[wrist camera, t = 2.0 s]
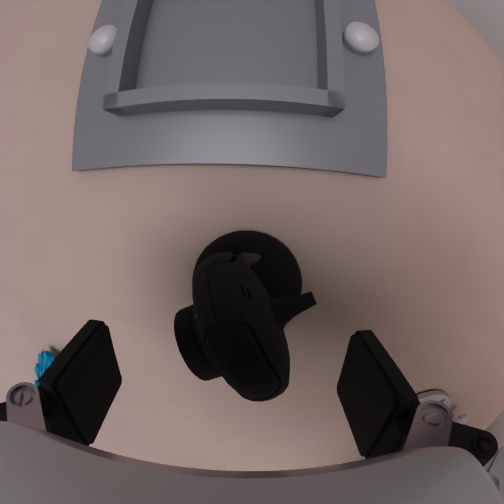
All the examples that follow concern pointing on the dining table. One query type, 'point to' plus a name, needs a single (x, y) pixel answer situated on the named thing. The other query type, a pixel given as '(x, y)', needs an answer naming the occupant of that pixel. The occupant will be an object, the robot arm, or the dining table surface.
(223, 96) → the housing
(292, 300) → the webcam
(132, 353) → the dining table surface
